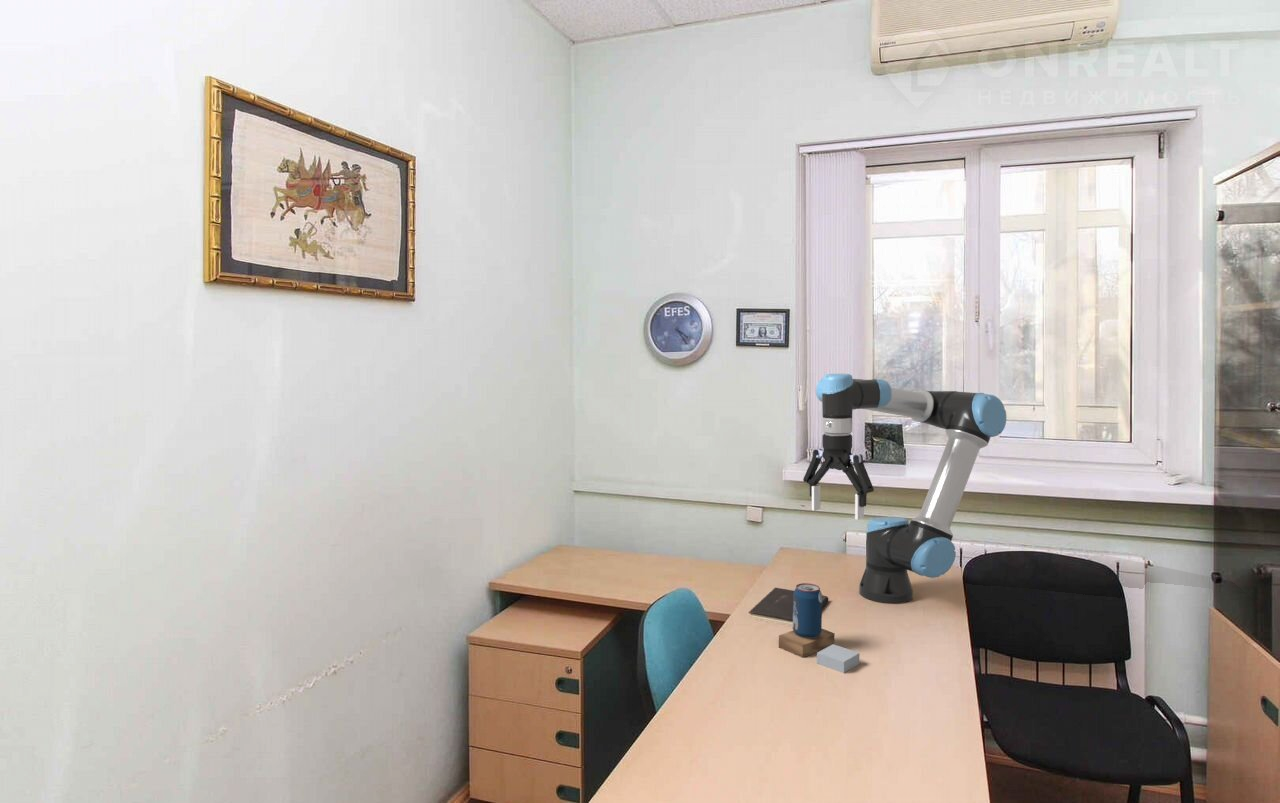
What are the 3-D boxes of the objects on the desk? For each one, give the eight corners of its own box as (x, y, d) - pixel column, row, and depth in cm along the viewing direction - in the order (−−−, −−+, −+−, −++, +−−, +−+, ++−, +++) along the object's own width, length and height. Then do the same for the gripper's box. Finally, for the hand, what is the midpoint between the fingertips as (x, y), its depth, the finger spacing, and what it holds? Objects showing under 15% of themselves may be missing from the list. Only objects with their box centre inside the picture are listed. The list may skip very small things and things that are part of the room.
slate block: (832, 656, 179) (833, 644, 179) (859, 665, 174) (859, 652, 174) (816, 665, 174) (817, 652, 174) (843, 674, 169) (843, 661, 169)
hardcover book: (748, 620, 202) (748, 611, 202) (774, 594, 223) (775, 587, 222) (806, 631, 195) (806, 622, 195) (828, 604, 215) (828, 596, 215)
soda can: (826, 634, 184) (827, 586, 183) (812, 642, 179) (813, 593, 178) (801, 626, 189) (802, 580, 188) (787, 634, 184) (788, 587, 183)
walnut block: (810, 635, 191) (810, 624, 190) (834, 645, 185) (834, 633, 184) (778, 647, 183) (778, 635, 183) (802, 657, 177) (802, 645, 177)
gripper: (790, 430, 200) (790, 508, 202) (870, 439, 180) (870, 525, 183) (807, 427, 205) (808, 503, 207) (888, 436, 185) (887, 520, 187)
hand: (837, 514), depth 195 cm, fingers open, 13 cm apart
